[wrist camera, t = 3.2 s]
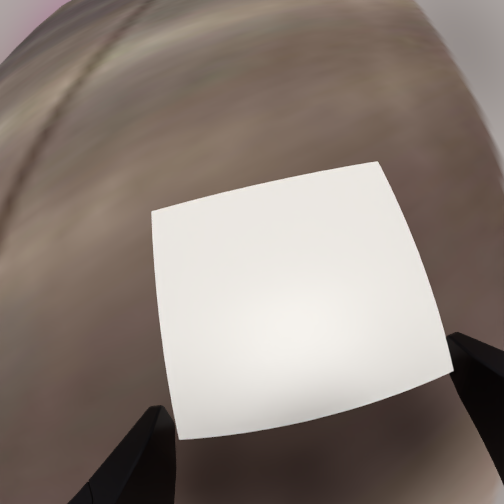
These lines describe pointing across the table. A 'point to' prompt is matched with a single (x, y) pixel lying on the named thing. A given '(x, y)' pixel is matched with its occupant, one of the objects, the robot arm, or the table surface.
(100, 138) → the table surface
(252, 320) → the white rectangular block
